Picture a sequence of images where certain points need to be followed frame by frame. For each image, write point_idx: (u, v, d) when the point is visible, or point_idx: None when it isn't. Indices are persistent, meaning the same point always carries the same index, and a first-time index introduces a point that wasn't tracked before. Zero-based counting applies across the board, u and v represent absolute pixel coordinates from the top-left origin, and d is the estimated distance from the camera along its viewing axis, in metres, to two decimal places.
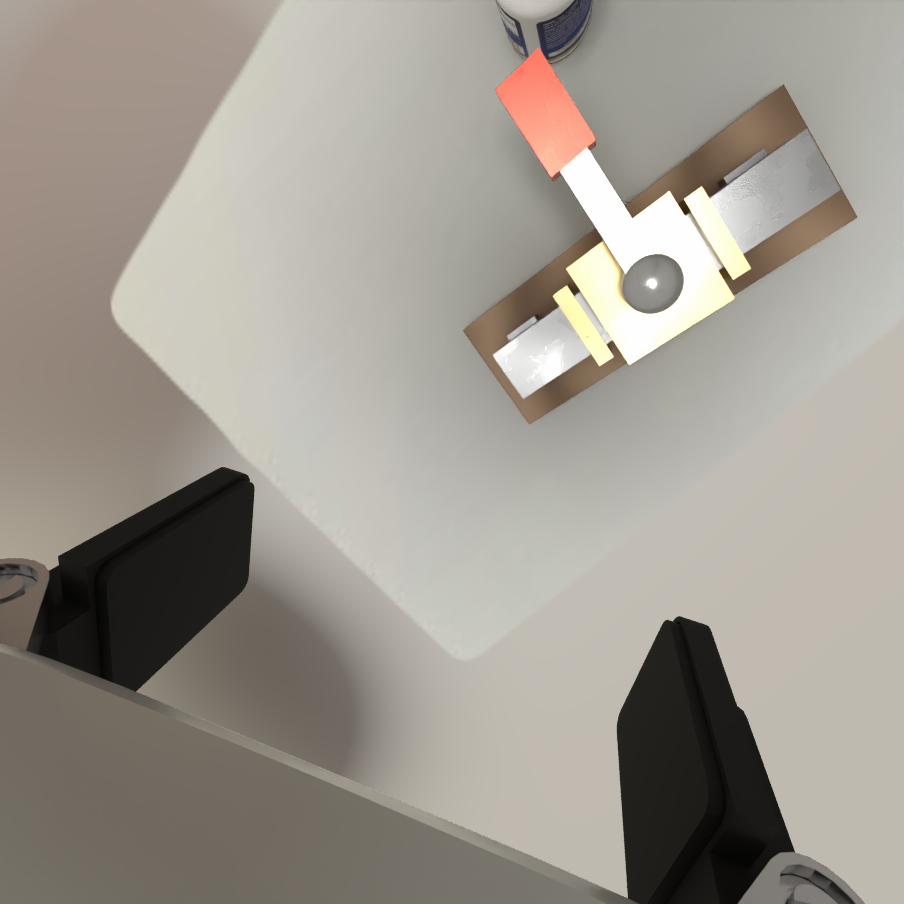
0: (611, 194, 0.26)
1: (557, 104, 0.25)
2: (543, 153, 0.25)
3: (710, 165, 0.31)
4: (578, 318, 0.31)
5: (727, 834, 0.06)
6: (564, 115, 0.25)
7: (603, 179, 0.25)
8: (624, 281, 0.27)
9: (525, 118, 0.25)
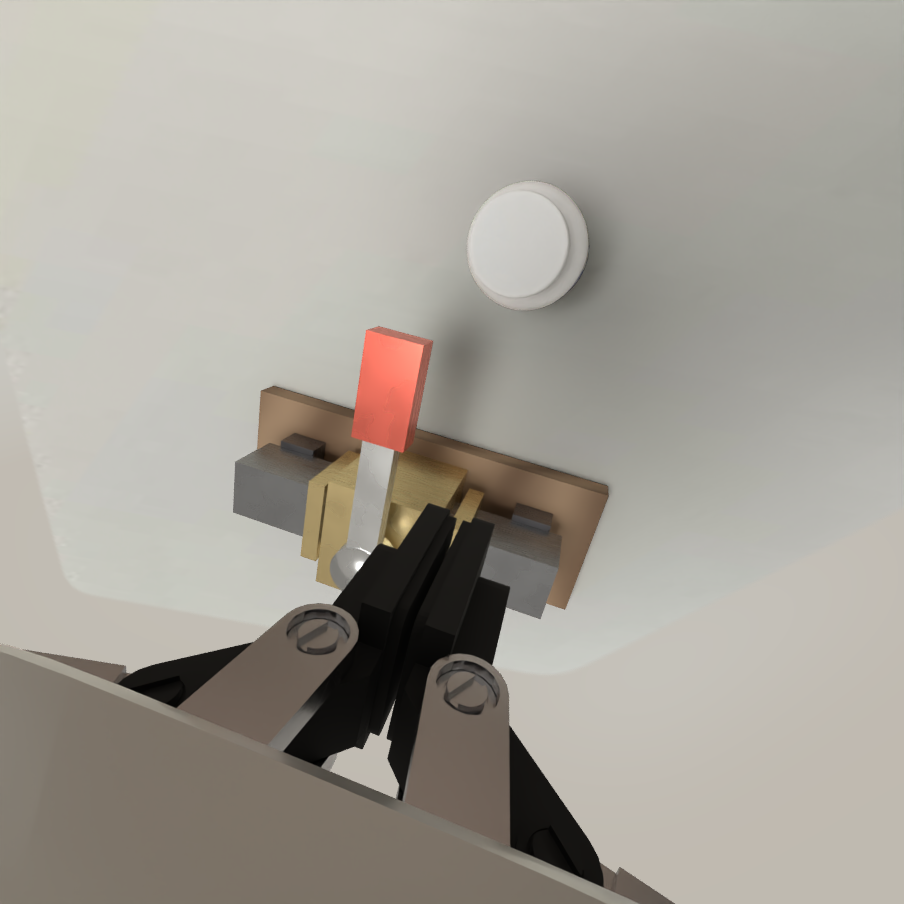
0: (382, 494, 0.24)
1: (399, 398, 0.22)
2: (360, 415, 0.23)
3: (523, 488, 0.32)
4: (313, 514, 0.29)
5: (425, 645, 0.08)
6: (397, 411, 0.22)
7: (386, 479, 0.24)
8: (339, 552, 0.26)
9: (369, 377, 0.22)
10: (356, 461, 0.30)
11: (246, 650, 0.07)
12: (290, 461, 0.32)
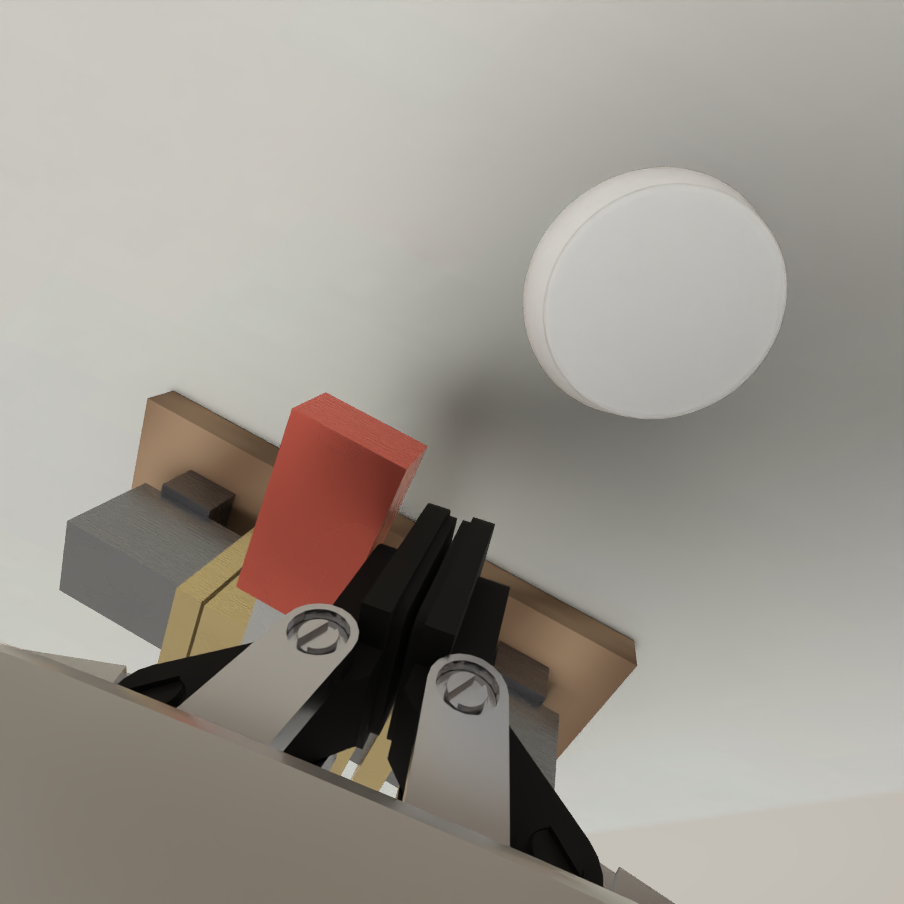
0: None
1: (339, 550, 0.11)
2: (257, 557, 0.12)
3: (514, 625, 0.22)
4: (178, 635, 0.18)
5: (424, 645, 0.08)
6: (330, 570, 0.11)
7: None
8: None
9: (285, 498, 0.11)
10: None
11: (246, 650, 0.07)
12: (166, 526, 0.20)
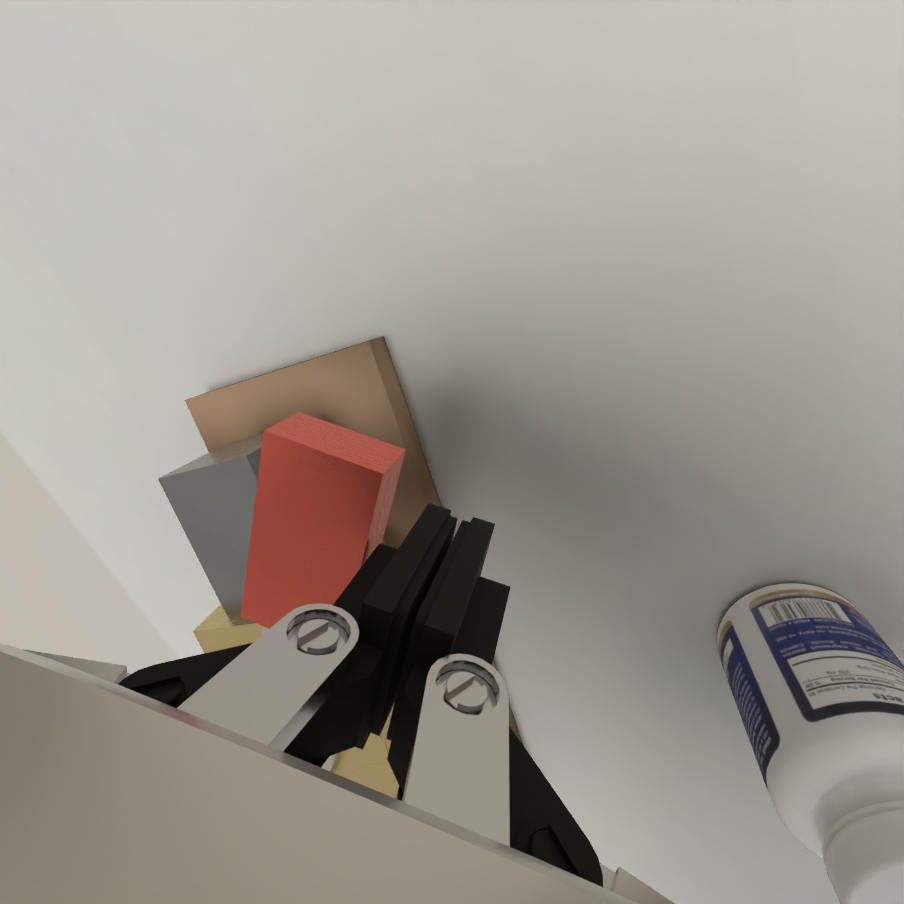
0: None
1: (332, 565, 0.11)
2: (256, 584, 0.12)
3: None
4: None
5: (424, 645, 0.08)
6: (327, 587, 0.11)
7: None
8: None
9: (272, 520, 0.11)
10: None
11: (246, 650, 0.07)
12: None
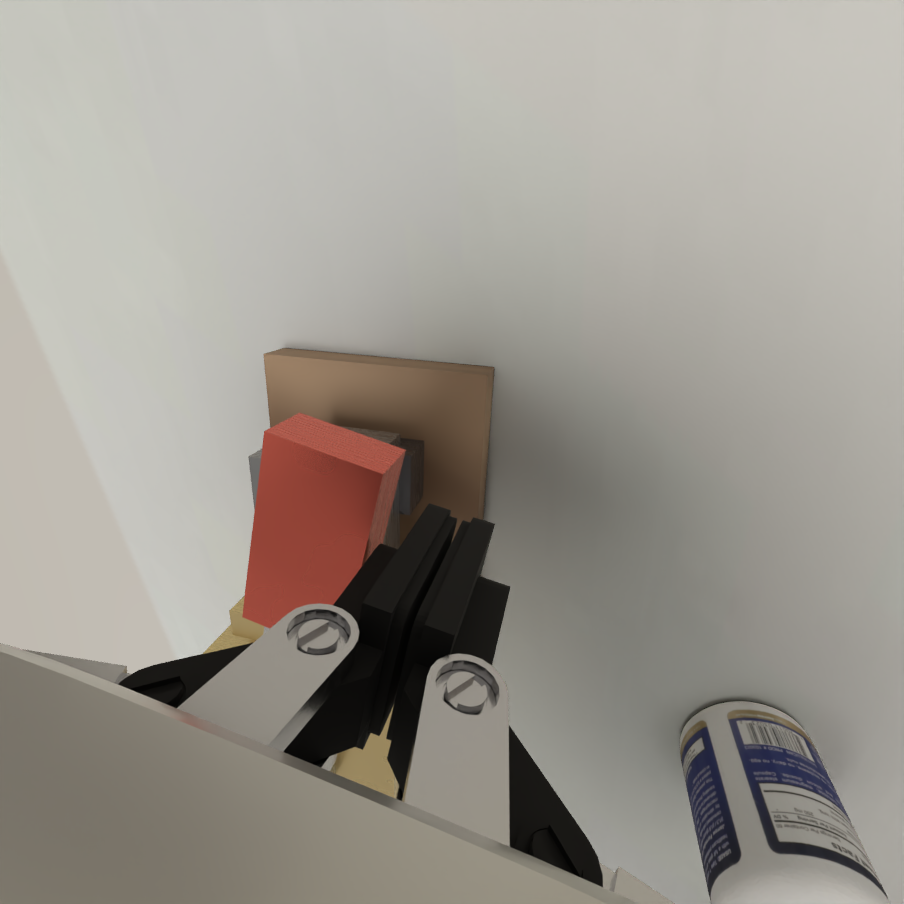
0: None
1: (333, 565, 0.11)
2: (257, 584, 0.12)
3: None
4: None
5: (424, 645, 0.08)
6: (328, 587, 0.11)
7: None
8: None
9: (273, 521, 0.11)
10: None
11: (246, 650, 0.07)
12: None
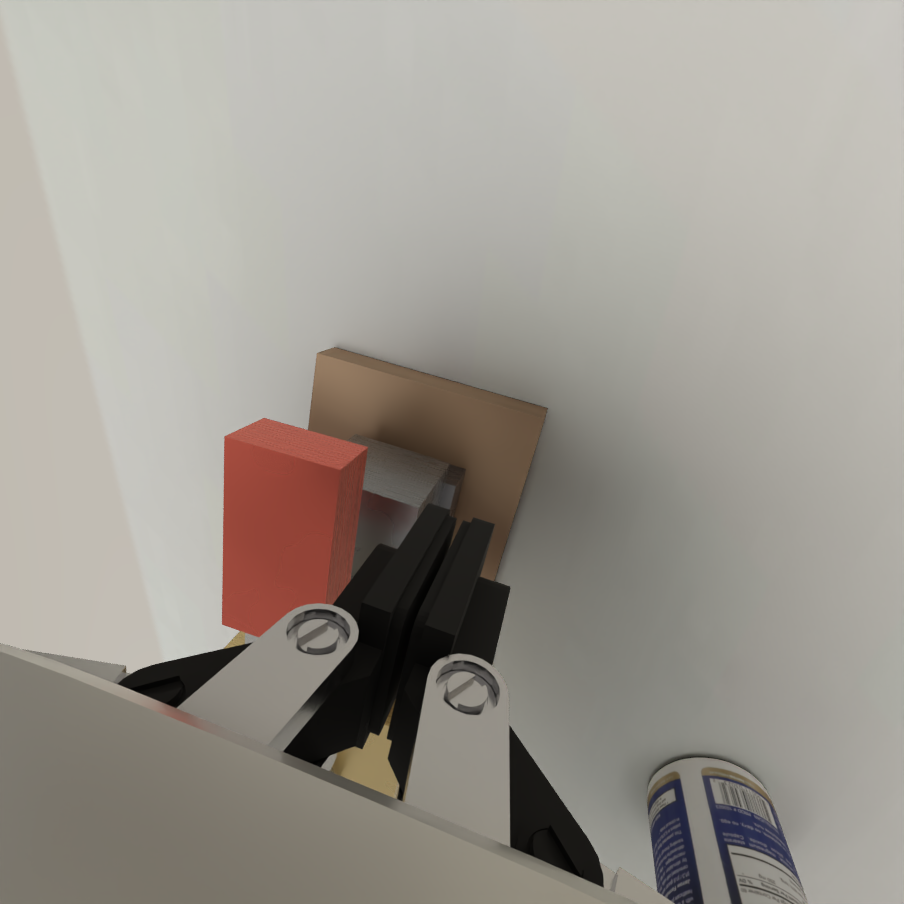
0: None
1: (302, 565, 0.11)
2: (233, 590, 0.12)
3: None
4: None
5: (425, 645, 0.08)
6: (300, 588, 0.11)
7: None
8: None
9: (241, 525, 0.11)
10: None
11: (246, 650, 0.07)
12: None
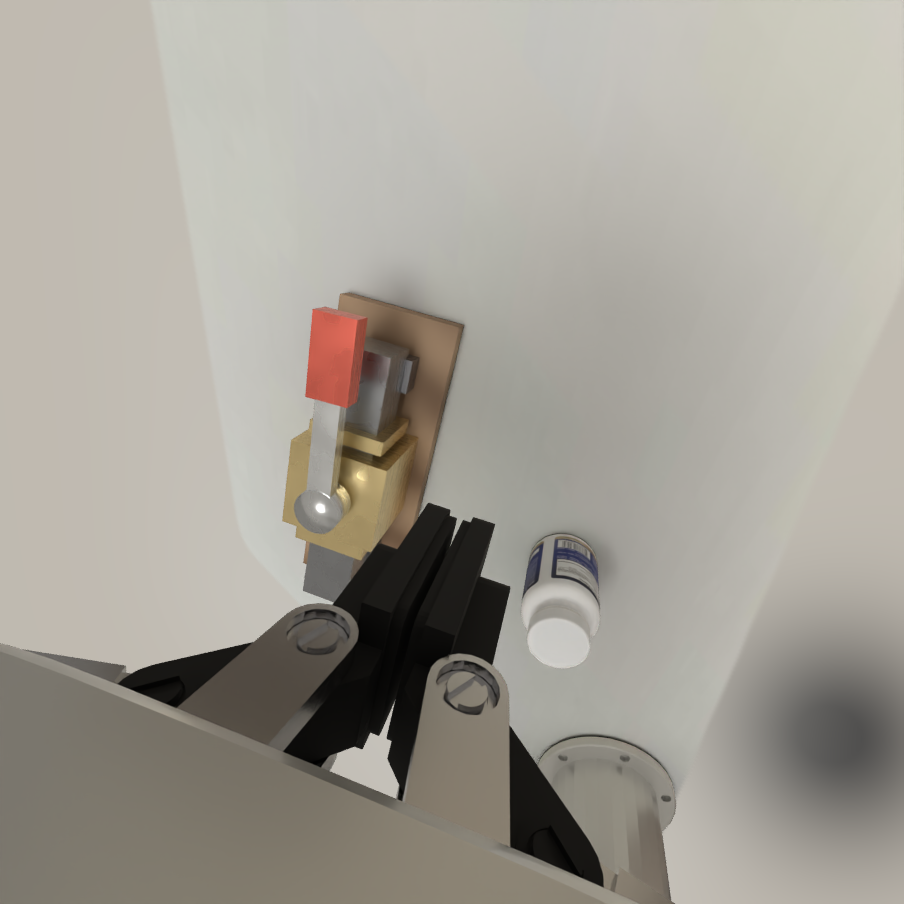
0: (332, 443, 0.30)
1: (341, 363, 0.28)
2: (311, 378, 0.29)
3: (393, 545, 0.42)
4: (353, 441, 0.33)
5: (424, 645, 0.08)
6: (340, 374, 0.28)
7: (335, 431, 0.30)
8: (301, 494, 0.32)
9: (317, 347, 0.28)
10: (402, 456, 0.35)
11: (246, 650, 0.07)
12: (395, 388, 0.34)
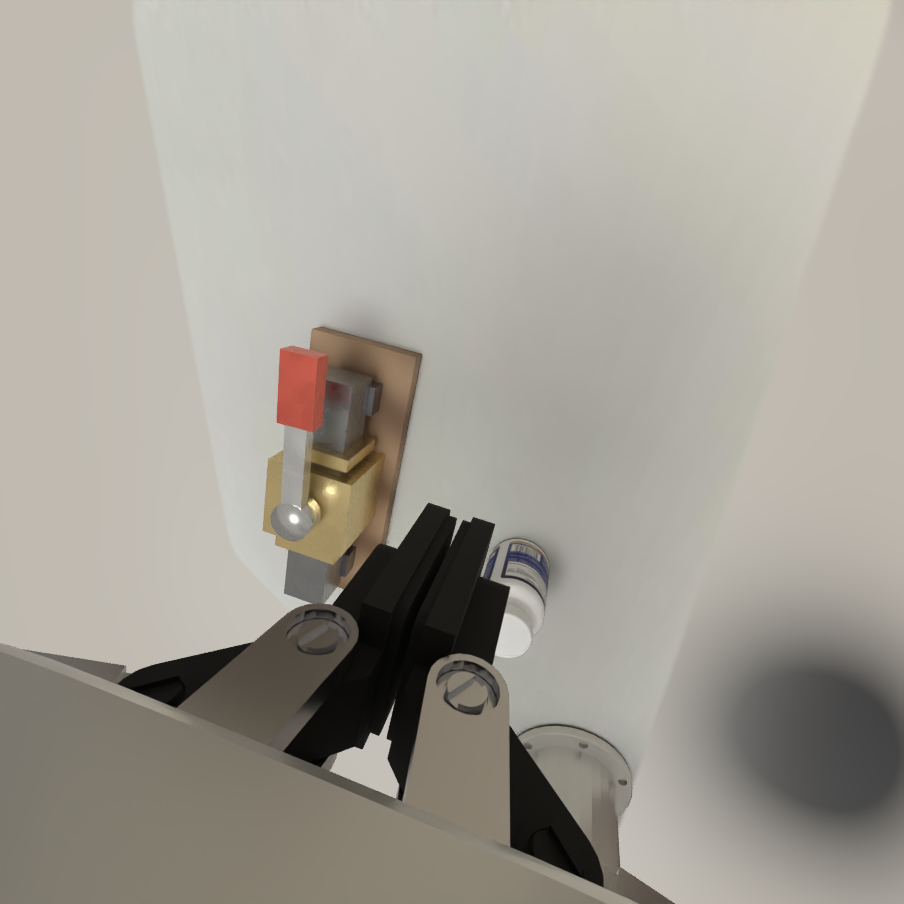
0: (301, 462, 0.34)
1: (305, 394, 0.32)
2: (281, 407, 0.33)
3: (366, 551, 0.47)
4: (322, 459, 0.37)
5: (425, 645, 0.08)
6: (305, 403, 0.33)
7: (303, 451, 0.34)
8: (276, 507, 0.36)
9: (285, 381, 0.32)
10: (368, 471, 0.40)
11: (246, 650, 0.07)
12: (359, 411, 0.39)
